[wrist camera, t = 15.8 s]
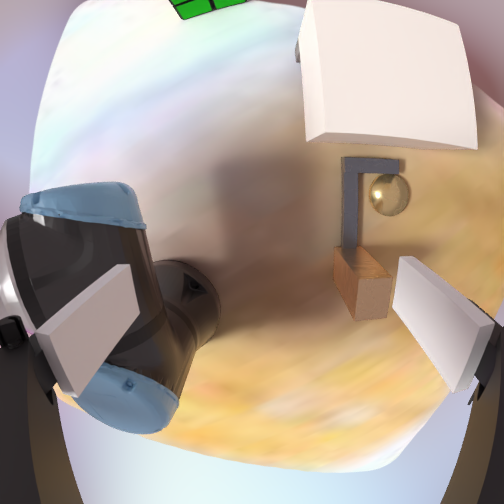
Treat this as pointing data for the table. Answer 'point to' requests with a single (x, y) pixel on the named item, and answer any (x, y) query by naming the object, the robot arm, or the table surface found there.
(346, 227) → the hook tool
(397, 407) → the table surface
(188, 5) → the puzzle cube
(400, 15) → the cabinet
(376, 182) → the brass token
